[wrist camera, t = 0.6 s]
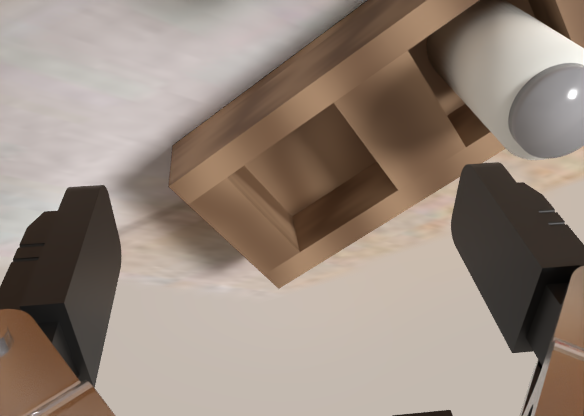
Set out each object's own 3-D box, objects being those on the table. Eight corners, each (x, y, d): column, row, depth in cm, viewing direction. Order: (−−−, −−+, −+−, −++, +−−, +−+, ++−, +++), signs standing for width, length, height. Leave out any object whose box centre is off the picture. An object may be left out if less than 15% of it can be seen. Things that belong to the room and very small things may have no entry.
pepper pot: (494, -29, 32) (604, 30, 23) (527, 46, 34) (636, 124, 26) (411, 30, 33) (485, 107, 24) (450, 97, 36) (528, 188, 27)
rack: (534, -124, 30) (585, -115, 26) (592, 36, 36) (641, 64, 32) (172, 145, 36) (168, 186, 32) (271, 243, 42) (278, 288, 38)
